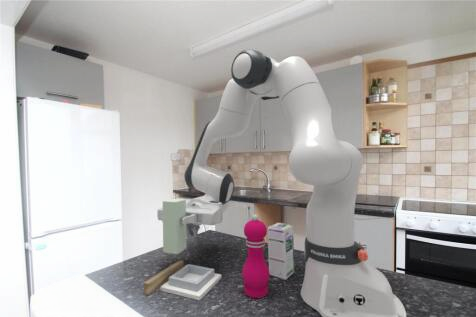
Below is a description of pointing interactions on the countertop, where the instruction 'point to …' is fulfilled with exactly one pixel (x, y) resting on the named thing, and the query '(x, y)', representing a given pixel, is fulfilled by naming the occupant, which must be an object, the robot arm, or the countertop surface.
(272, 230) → the syrup box
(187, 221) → the robot arm
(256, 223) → the pepper mill
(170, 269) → the oak board
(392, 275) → the countertop surface
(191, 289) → the grey keeper socket
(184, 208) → the sage bar
